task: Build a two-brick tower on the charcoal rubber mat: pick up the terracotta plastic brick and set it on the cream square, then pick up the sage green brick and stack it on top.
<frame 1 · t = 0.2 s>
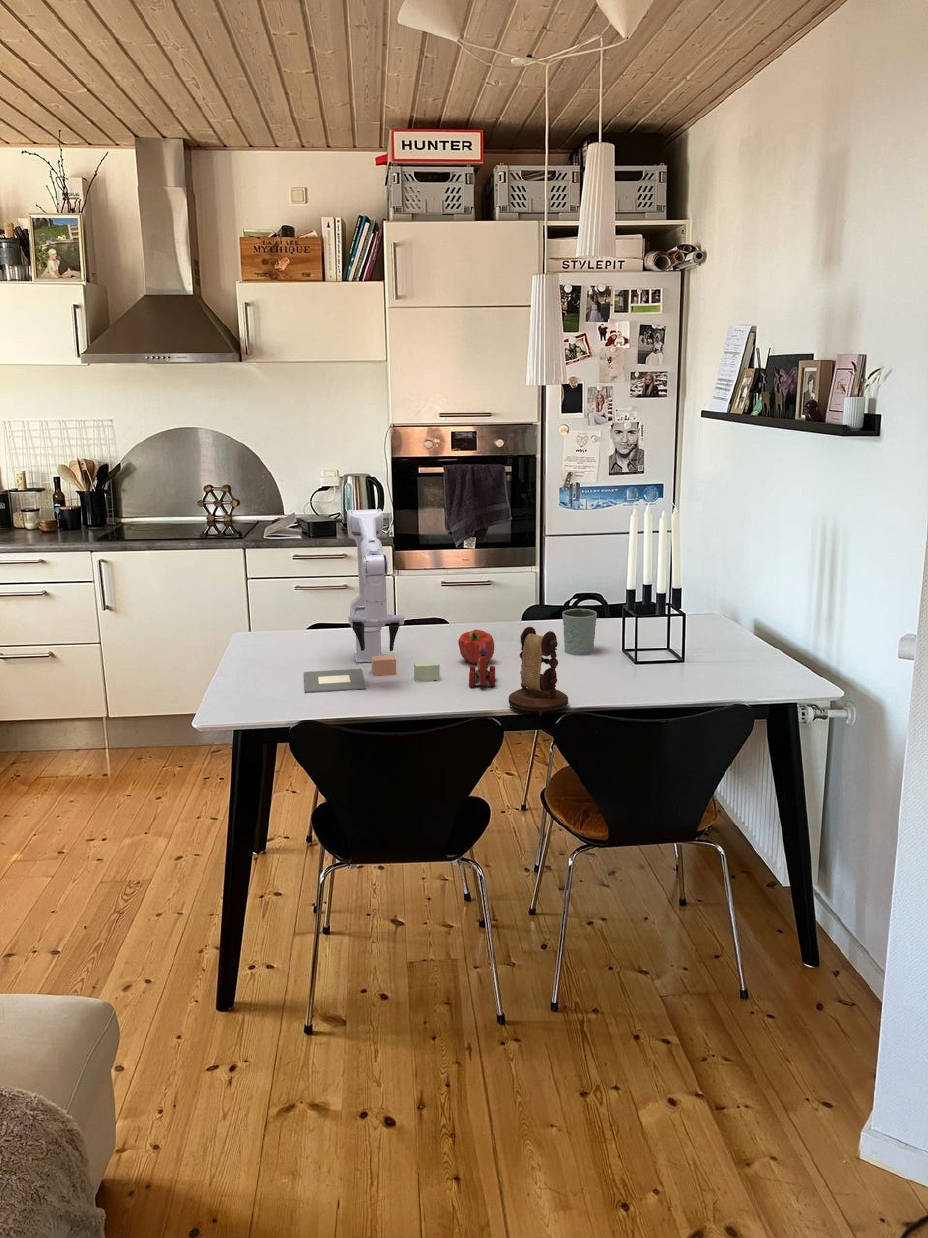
hand: (377, 649, 264), 10 cm above the table, tool pointing down, fingers open, 7 cm apart
sage brick: (427, 679, 271), on the table
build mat: (334, 681, 270), on the table
toy fire truck: (482, 684, 267), on the table
terracotta brick: (384, 673, 277), on the table
scroll: (538, 708, 247), on the table
vegetable: (476, 663, 286), on the table
grey green cup: (578, 652, 296), on the table
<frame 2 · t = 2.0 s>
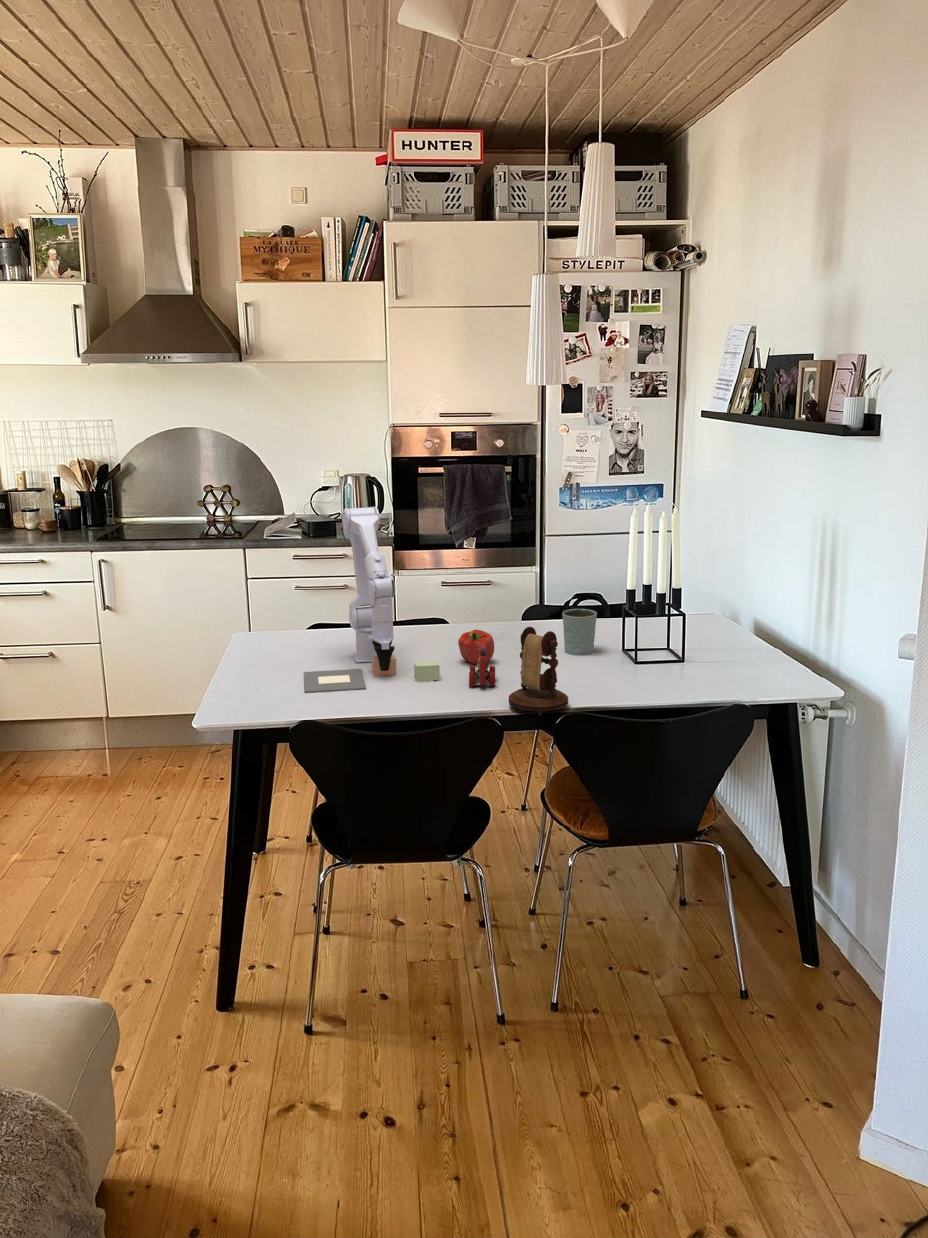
hand: (383, 668, 276), 1 cm above the table, tool pointing down, fingers closed on terracotta brick, 4 cm apart
terracotta brick: (384, 672, 277), on the table, touching gripper
everything else where it was.
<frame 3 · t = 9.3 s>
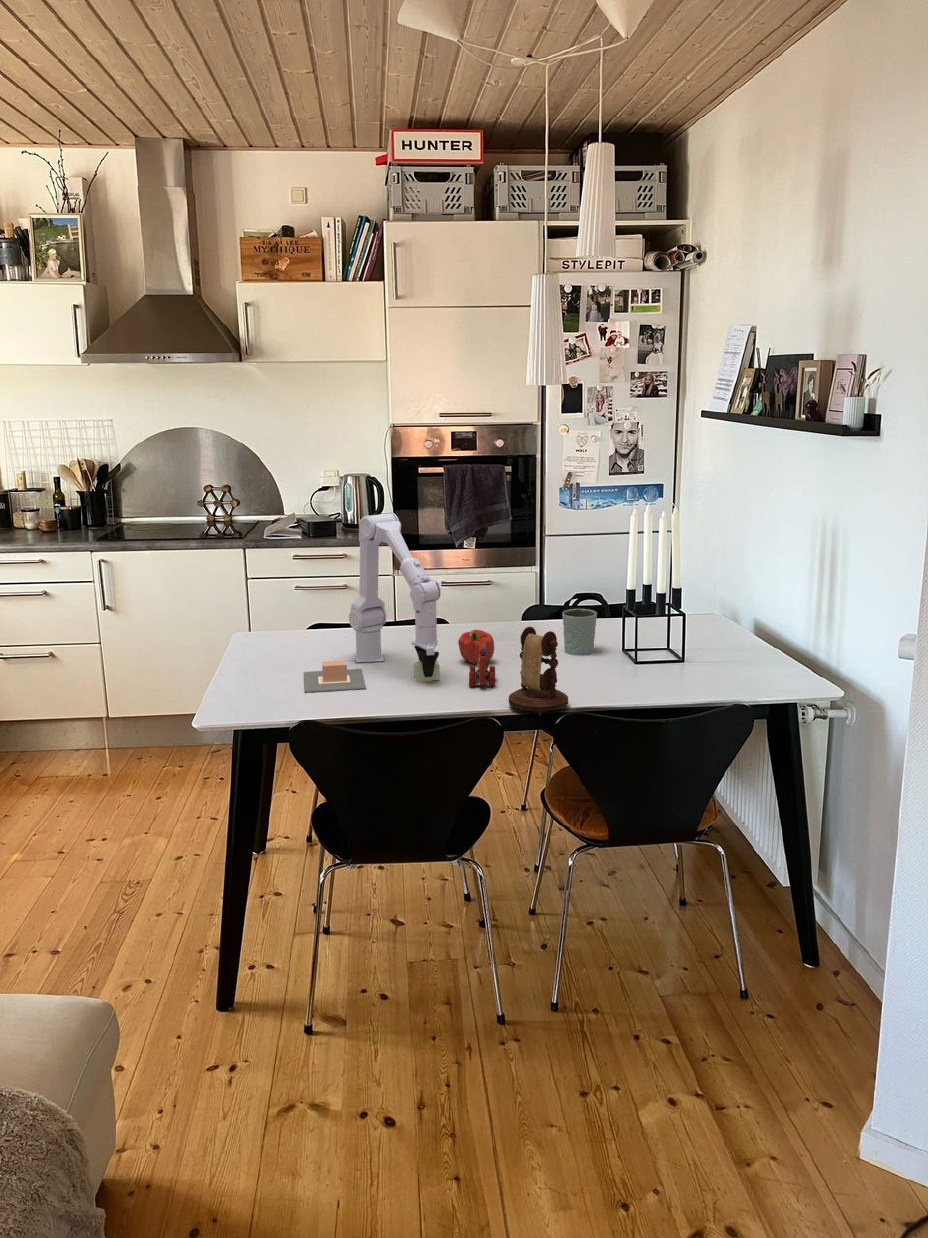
hand: (426, 673, 271), 1 cm above the table, tool pointing down, fingers closed on sage brick, 4 cm apart
sage brick: (427, 678, 271), on the table, touching gripper
terracotta brick: (334, 679, 270), resting on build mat
everything else where it was.
when the fingers open (7 cm above the table, at t = 13.3 s): sage brick stays where it is, resting on terracotta brick.
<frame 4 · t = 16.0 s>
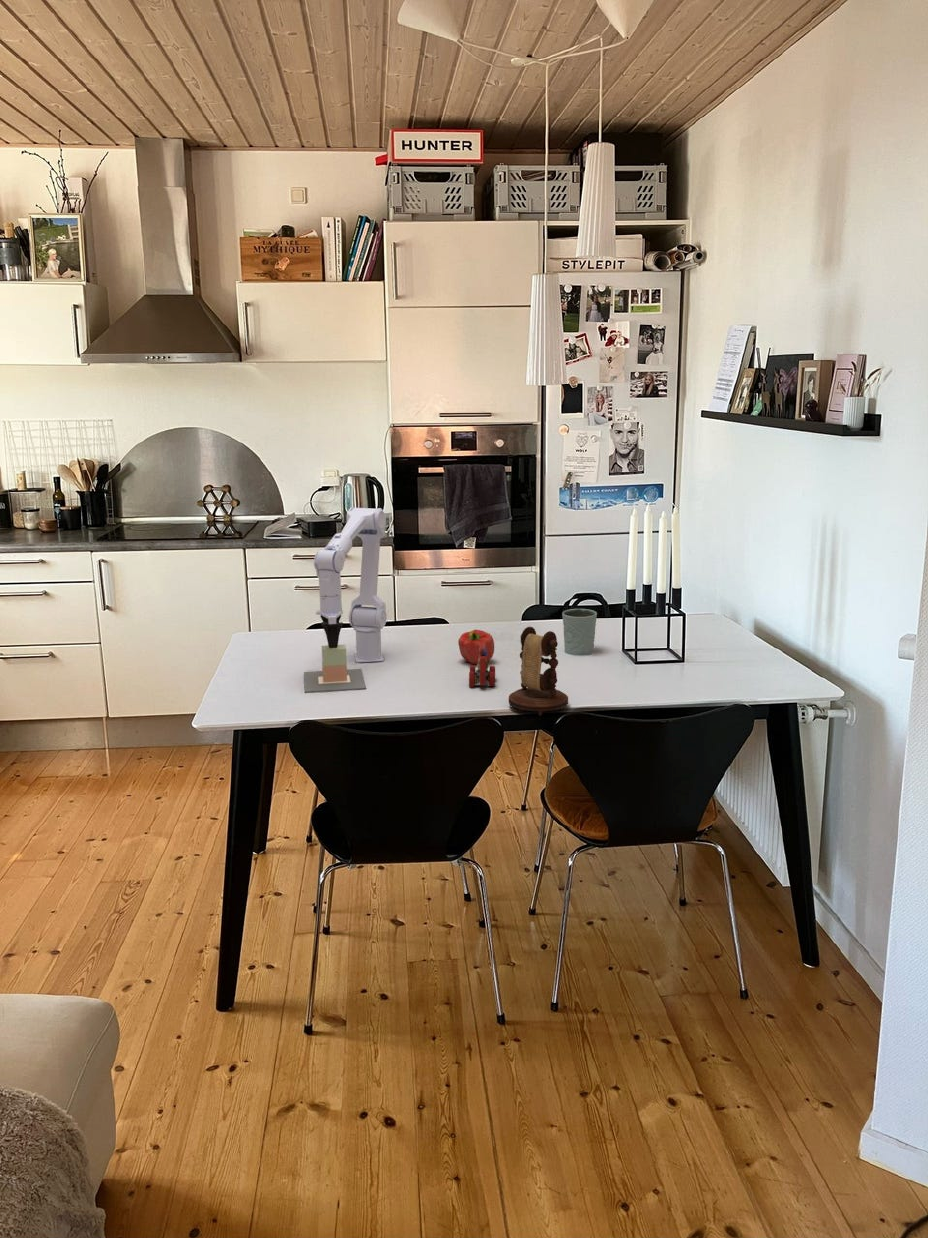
hand: (332, 644, 267), 10 cm above the table, tool pointing down, fingers open, 7 cm apart
sage brick: (334, 663, 269), point 5 cm above the table, touching terracotta brick
terracotta brick: (334, 679, 270), resting on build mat, touching sage brick
everything else where it was.
at the end: terracotta brick inside the target area on the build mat (0.2 cm from its centre), point 0.5 cm above the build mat's base; sage brick 0.1 cm off-centre on the terracotta brick, point 4.5 cm above the terracotta brick's base; sage brick tilted 0° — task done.
